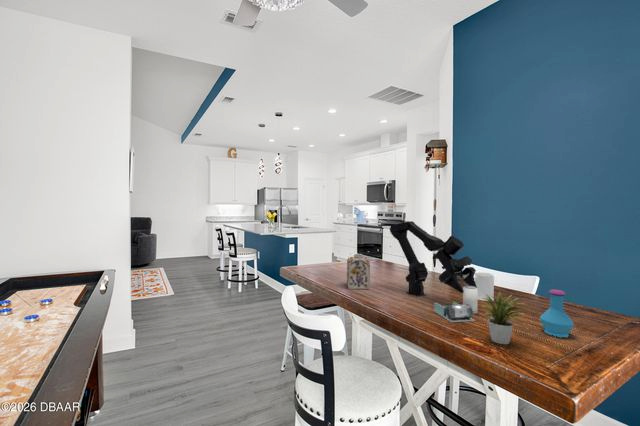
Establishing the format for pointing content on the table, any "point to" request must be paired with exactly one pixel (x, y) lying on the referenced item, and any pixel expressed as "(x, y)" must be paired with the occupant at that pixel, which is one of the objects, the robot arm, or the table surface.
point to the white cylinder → (471, 297)
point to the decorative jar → (358, 272)
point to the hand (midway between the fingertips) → (469, 291)
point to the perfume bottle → (556, 316)
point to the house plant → (501, 319)
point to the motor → (454, 312)
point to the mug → (484, 285)
